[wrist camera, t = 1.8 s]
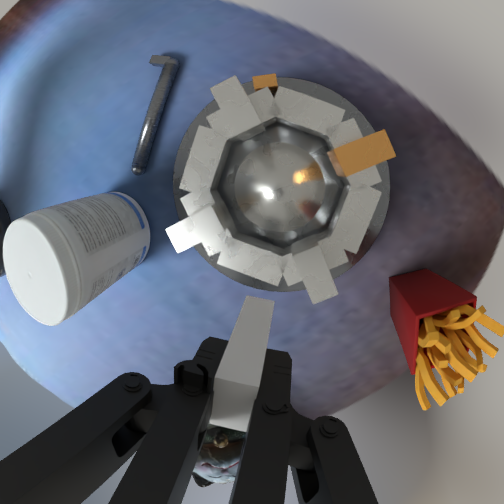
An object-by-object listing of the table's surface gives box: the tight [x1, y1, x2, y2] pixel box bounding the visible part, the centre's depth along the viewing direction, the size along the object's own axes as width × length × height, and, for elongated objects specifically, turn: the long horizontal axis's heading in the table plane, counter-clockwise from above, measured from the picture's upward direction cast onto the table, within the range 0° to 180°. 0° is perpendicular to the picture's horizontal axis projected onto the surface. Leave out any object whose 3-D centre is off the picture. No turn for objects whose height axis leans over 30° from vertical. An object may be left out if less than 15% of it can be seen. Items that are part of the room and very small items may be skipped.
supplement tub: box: [3, 192, 150, 326], centre depth 24 cm, size 10×10×15 cm
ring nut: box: [165, 75, 396, 304], centre depth 21 cm, size 16×16×6 cm
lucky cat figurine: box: [192, 420, 246, 487], centre depth 31 cm, size 15×12×14 cm
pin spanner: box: [131, 55, 179, 175], centre depth 26 cm, size 14×3×2 cm, turn 161°
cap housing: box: [173, 74, 390, 292], centre depth 24 cm, size 20×20×6 cm
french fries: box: [389, 269, 504, 410], centre depth 21 cm, size 9×8×15 cm
